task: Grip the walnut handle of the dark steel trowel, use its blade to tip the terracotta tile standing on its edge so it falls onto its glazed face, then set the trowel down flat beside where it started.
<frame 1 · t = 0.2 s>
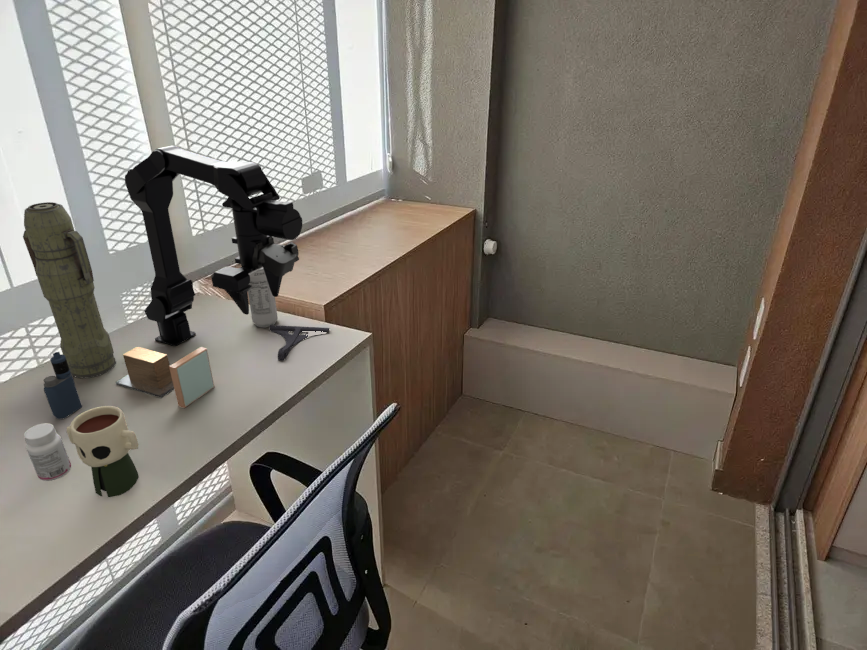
hand: (261, 304, 116), 14 cm above the table, tool pointing down, fingers open, 9 cm apart
pill bottle: (55, 472, 93), on the table
character mug: (118, 486, 90), on the table
thermos: (93, 367, 121), on the table
tile: (197, 396, 112), on the table
trowel: (152, 383, 116), on the table
bracket: (291, 347, 131), on the table
vaping device: (68, 412, 107), on the table
energy drink can: (265, 323, 140), on the table
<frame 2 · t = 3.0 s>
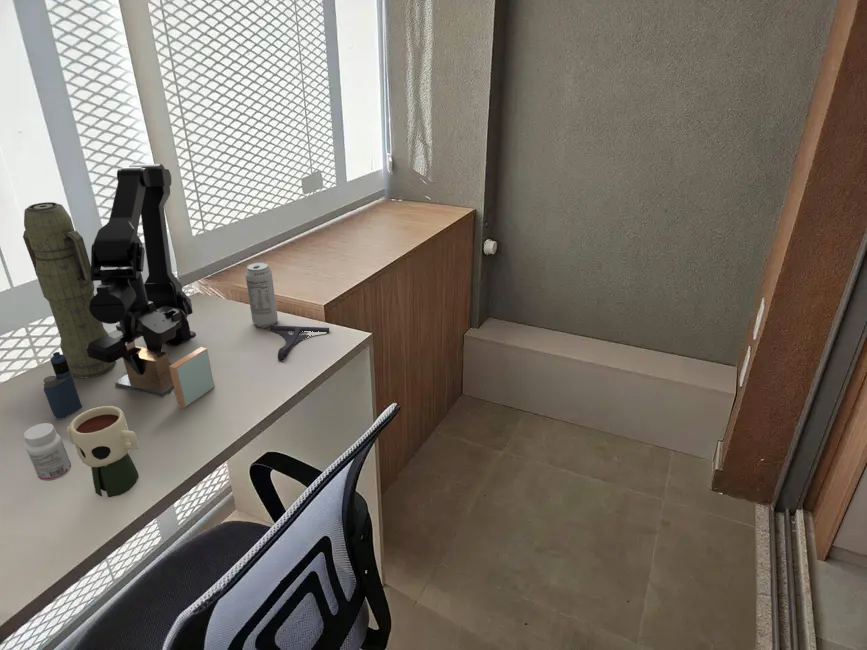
hand: (148, 369, 115), 3 cm above the table, tool pointing down, fingers closed on trowel, 4 cm apart
trowel: (152, 382, 116), on the table, touching gripper
everything else where it was.
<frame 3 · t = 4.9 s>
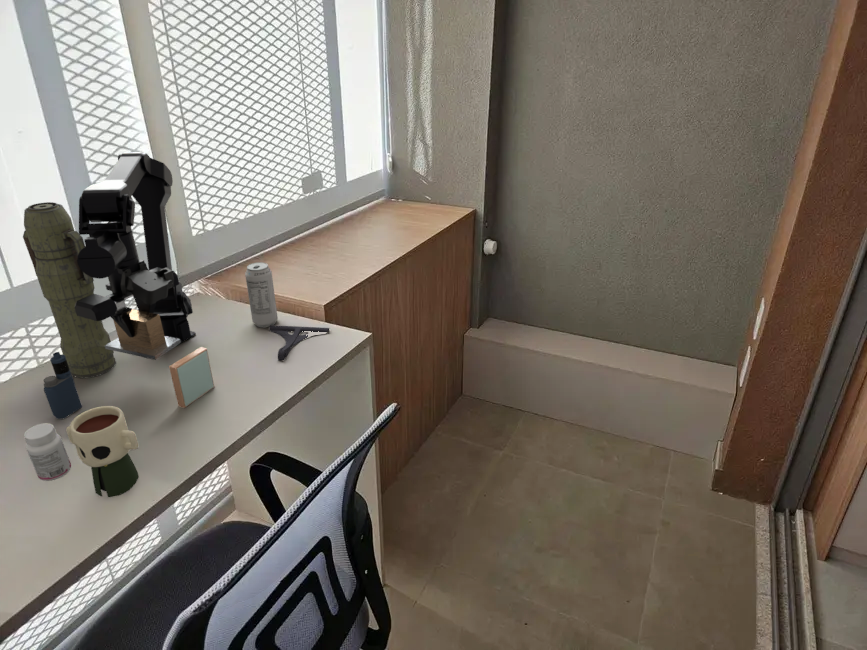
hand: (140, 332, 111), 12 cm above the table, tool pointing down, fingers closed on trowel, 4 cm apart
trowel: (143, 345, 112), point 9 cm above the table, touching gripper
everything else where it was.
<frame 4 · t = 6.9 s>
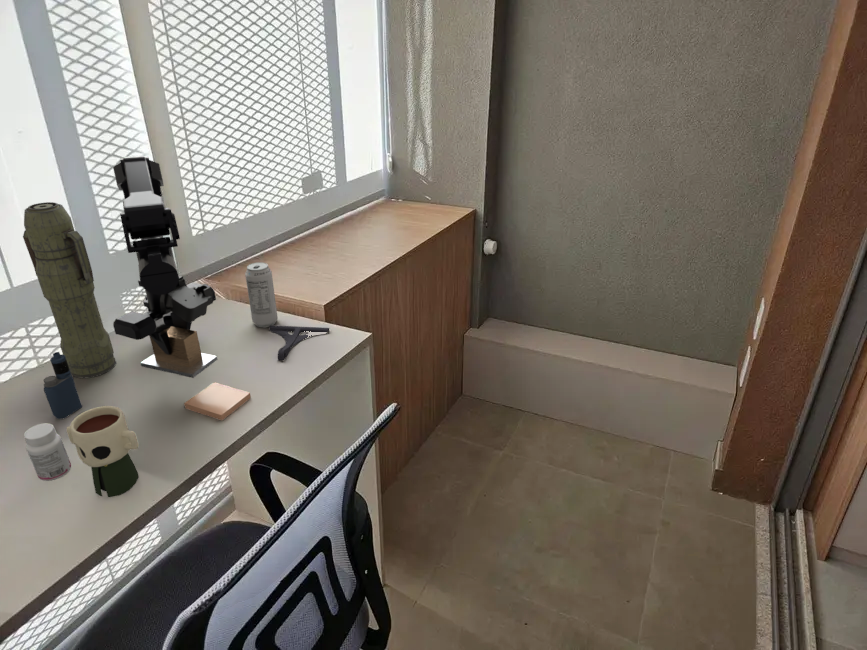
hand: (176, 349, 108), 10 cm above the table, tool pointing down, fingers closed on trowel, 4 cm apart
tile: (200, 395, 111), on the table, tilted 90°
trowel: (179, 362, 110), point 7 cm above the table, touching gripper
everything else where it was.
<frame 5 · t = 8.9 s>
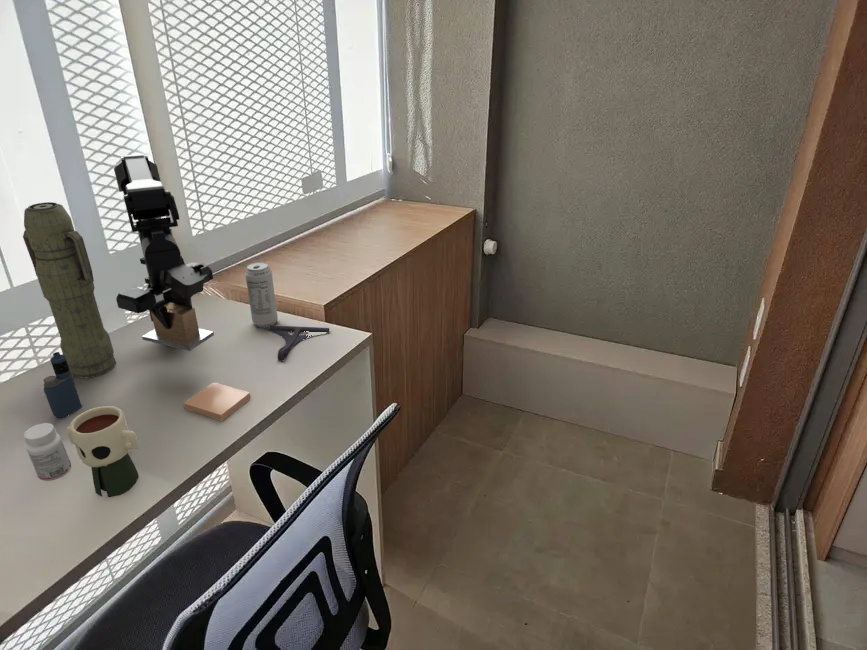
hand: (175, 324, 115), 11 cm above the table, tool pointing down, fingers closed on trowel, 4 cm apart
trowel: (178, 337, 117), point 8 cm above the table, touching gripper
everything else where it was.
when the fingers open (3 cm above the table, at t = 10.7 s): trowel stays where it is, on the table.
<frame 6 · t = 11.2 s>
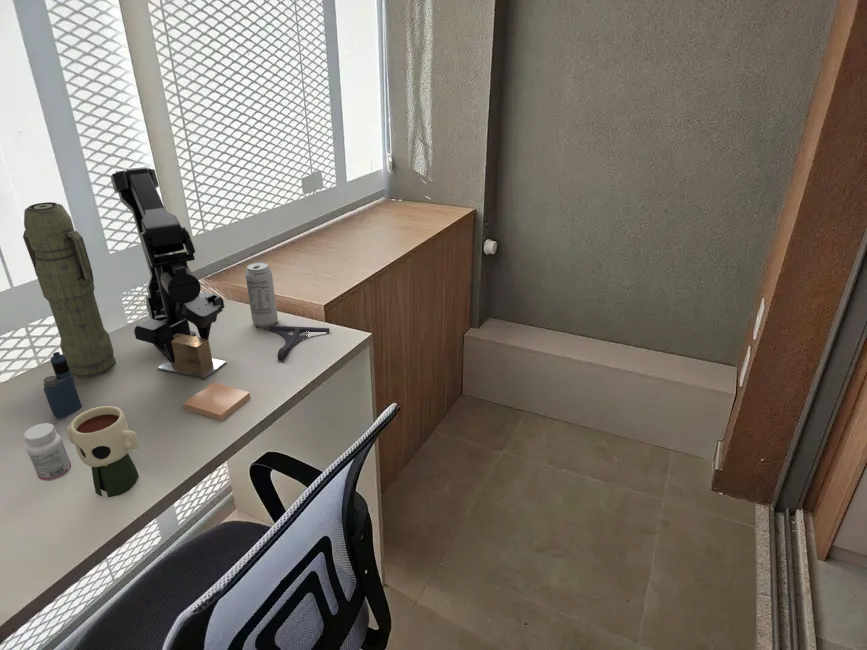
hand: (189, 352, 120), 3 cm above the table, tool pointing down, fingers open, 9 cm apart
trowel: (192, 367, 122), on the table
everything else where it was.
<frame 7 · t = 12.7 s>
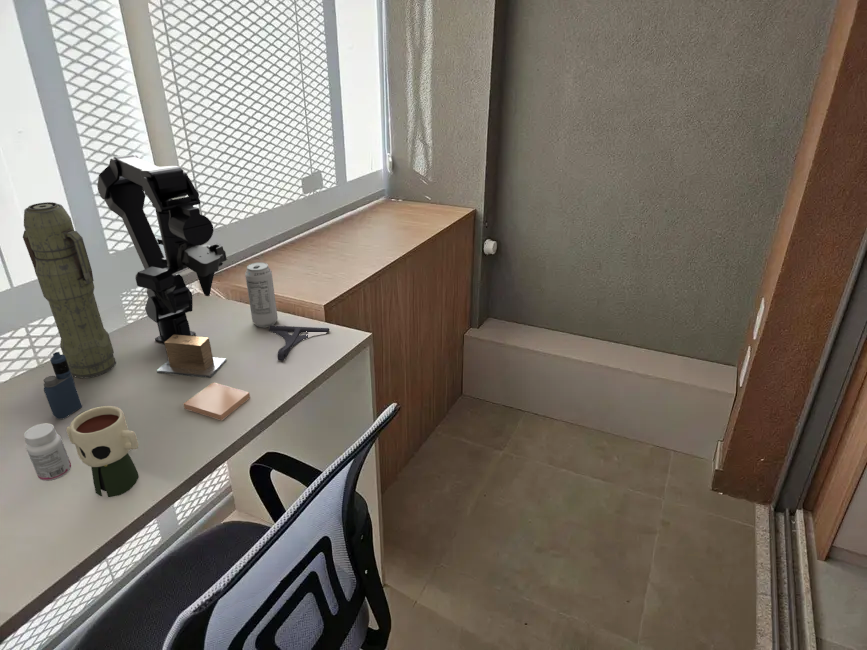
hand: (191, 304, 119), 13 cm above the table, tool pointing down, fingers open, 9 cm apart
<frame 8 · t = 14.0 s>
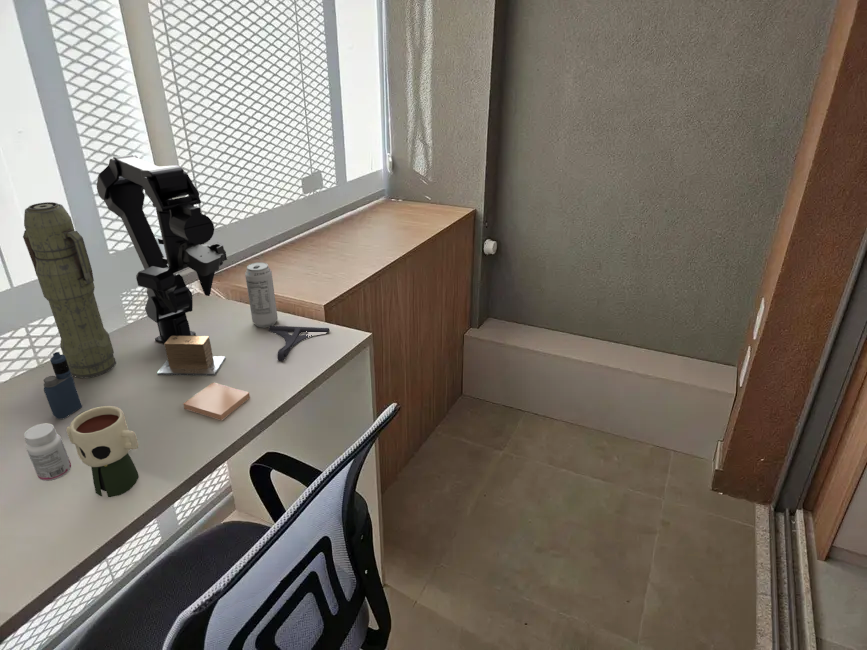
hand: (191, 303, 119), 13 cm above the table, tool pointing down, fingers open, 9 cm apart
at the end: tile tilted 90°; trowel inside the target area (0.0 cm from its centre), on the table; the gripper is holding nothing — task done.
